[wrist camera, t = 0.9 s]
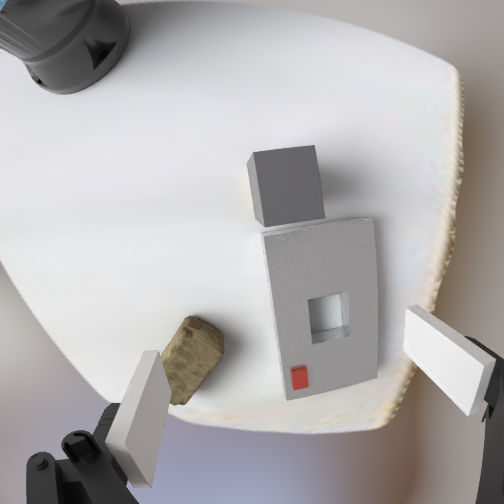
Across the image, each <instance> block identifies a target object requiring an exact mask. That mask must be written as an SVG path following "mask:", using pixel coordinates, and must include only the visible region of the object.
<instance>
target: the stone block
mask: <svg viewBox="0 0 504 504" xmlns="http://www.w3.org/2000/svg"><path fill="white" fill-rule="evenodd" d="M223 344H224V338H223V336H222V334H221V333H220V332H219V331H218V330H217V329H215V328H214V327H212V326H210V325H209V324H207V323H204V322H202V321H200V320H199V319H197V318H195V317H193V316H189V317H186V318H185V319H184V321H183V323H182V324H181V326H180V327H179V329H178V330H177V332H176V334H175V335H174V337H173V339H172V340H171V342H170V343H169V344H168V346H167V347H166V348H165V350H164V351H163V353H162V355H161V360H162V364H163V367H164V370H165V373H166V377H167V380H168V383H169V386H170V389H171V392H172V394H171V399H170V404H172V405H174V406H175V405H178V404H180V405H185V404H186V403H187V402H188V401H189V399H190V398H191V397H192V396H193V394H194V393H195V392H196V391H197V389H198V388H199V387H200V385H201V384H202V383H203V381H204V380H205V379H206V377H207V376H208V375H209V374H210V373H211V372H212V371H213V369H214V368H215V367H216V365H217V363H218V362H219V361H220V359H221V358H222V355H223V354H224V346H223Z"/></svg>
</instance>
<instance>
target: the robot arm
mask: <svg viewBox="0 0 504 504" xmlns="http://www.w3.org/2000/svg"><path fill="white" fill-rule="evenodd" d="M129 35H130V22H129V19H128V17H127V15H126V13H125V11H124V10H123V8H122V7H121V6H120V4H118V3H117V2H116V1H115V0H0V48H1V49H3V50H5V51H7V52H8V53H10V54H12V55H14V56H16V57H17V58H19V59H21V60H22V61H23V63H24V65H25V66H26V68H27V70H28V72H29V73H30V75H31V77H32V79H33V80H34V81H35V83H36V84H37V85H39V86H40V87H42V88H43V89H45V90H47V91H49V92H52V93H55V94H70V93H74V92H77V91H80V90H83V89H85V88H87V87H89V86H90V85H92V84H94V83H95V82H97V81H98V80H99V79H101V78H102V77H103V76H104V75H105V74H106V73H107V72H108V71H109V70H110V69H111V68H112V67H113V66H114V65H115V64H116V62H117V61H118V60H119V58H120V57H121V55H122V53H123V52H124V50H125V48H126V45H127V43H128V39H129ZM403 351H404V352H405V353H406V354H407V355H408V356H409V357H410V358H411V359H412V360H413V361H414V362H415V363H416V364H417V365H418V366H419V367H420V368H421V369H422V370H423V371H424V372H425V373H426V374H427V375H428V376H429V377H430V378H431V379H432V380H433V381H434V382H435V383H436V384H437V385H438V386H439V387H440V388H441V389H442V390H443V391H444V392H445V393H446V394H447V395H448V396H449V397H450V398H451V399H452V400H453V402H454V403H455V404H456V405H457V406H458V407H460V409H461V410H462V411H463V412H464V413H465V414H466V415H467V416H470V415H472V414H474V413H476V412H477V411H479V410H480V409H481V406H482V403H483V400H485V401H486V402H487V403H488V405H487V408H486V411H485V413H484V416H483V418H482V422H483V421H484V419H485V418H486V426H485V441H484V451H483V461H482V469H481V476H480V482H479V488H478V493H477V499H476V504H504V359H502V358H501V357H500V356H498V355H497V354H496V353H494V352H493V351H491V350H490V349H489V348H486V346H484V345H483V344H481V343H480V342H478V341H477V340H476V339H473V338H471V337H468V336H462V335H461V334H459V333H458V332H457V331H455V330H454V329H452V328H451V327H449V326H448V325H446V324H445V323H444V322H442V321H441V320H439V319H438V318H436V317H435V316H433V315H432V314H430V313H429V312H427V311H426V310H424V309H423V308H421V307H420V306H418V305H414V306H411V307H407V308H406V317H405V331H404V343H403ZM171 394H172V392H171V389H170V386H169V383H168V380H167V377H166V373H165V370H164V367H163V364H162V360H161V357H160V353H159V350H153V351H144V353H143V355H142V357H141V360H140V362H139V364H138V366H137V368H136V371H135V373H134V375H133V377H132V380H131V382H130V384H129V386H128V389H127V391H126V393H125V395H124V398H123V400H122V402H121V403H111V404H110V405H109V406H108V407H107V408H106V409H105V410H104V412H103V414H102V416H101V419H100V420H99V422H98V426H97V427H96V429H95V431H94V433H93V435H92V434H91V433H89V432H87V431H84V430H78V431H74V432H71V433H70V434H68V435H67V436H66V437H65V438H64V439H63V441H62V443H61V446H62V449H63V451H64V452H65V454H66V455H67V457H68V458H69V459H64V460H55V458H54V457H53V456H52V455H51V454H50V453H47V452H39V453H36V454H34V455H32V456H31V457H30V458H29V460H28V462H27V472H26V492H27V493H26V496H27V504H139V503H138V502H137V500H136V499H135V498H134V496H133V495H132V494H131V493H130V491H129V490H128V489H127V487H126V485H127V481H128V480H129V482H130V483H131V485H132V486H133V487H136V488H152V483H153V478H154V473H155V468H156V463H157V458H158V453H159V448H160V444H161V439H162V434H163V429H164V425H165V421H166V416H167V412H168V407H169V403H170V399H171Z"/></svg>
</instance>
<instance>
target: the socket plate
mask: <svg viewBox="0 0 504 504" xmlns="http://www.w3.org/2000/svg"><path fill="white" fill-rule="evenodd" d="M261 239H262V246H263V253H264V259H265V266H266V272H267V279H268V286H269V293H270V300H271V306H272V313H273V320H274V327H275V334H276V341H277V348H278V355H279V362H280V369H281V376H282V383H283V389H284V393H285V396H286V400H287V401H288V400H293V399H298V398H302V397H307V396H311V395H316V394H320V393H324V392H328V391H332V390H336V389H340V388H344V387H347V386H351V385H354V384H358V383H361V382H365V381H368V380H371V379H375V378H377V366H378V277H377V257H376V243H375V230H374V219H370V218H365V217H360V218H354V219H347V220H340V221H334V222H327V223H321V224H314V225H308V226H302V227H295V228H289V229H283V230H276V231H270V232H264V233H261ZM338 293H340V294H341V310H342V327H338V328H333V329H329V330H324V331H320V332H315V333H311V327H310V316H309V306H308V300H309V299H314V298H319V297H324V296H328V295H333V294H338Z"/></svg>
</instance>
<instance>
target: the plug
mask: <svg viewBox="0 0 504 504" xmlns="http://www.w3.org/2000/svg"><path fill="white" fill-rule="evenodd" d="M247 168H248V174H249V181H250V187H251V193H252V200H253V206H254V212H255V219H257V220H258V221H259V222H260V223H261V224H262V225H263V226H264V227H270V226H277V225H283V224H289V223H296V222H302V221H309V220H315V219H322V218H325V213H324V206H323V198H322V191H321V184H320V177H319V170H318V164H317V157H316V151H315V145H311V146H301V147H292V148H283V149H275V150H267V151H260V152H253V153H252V155H251V157H250V159H249V161H248V162H247Z"/></svg>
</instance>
